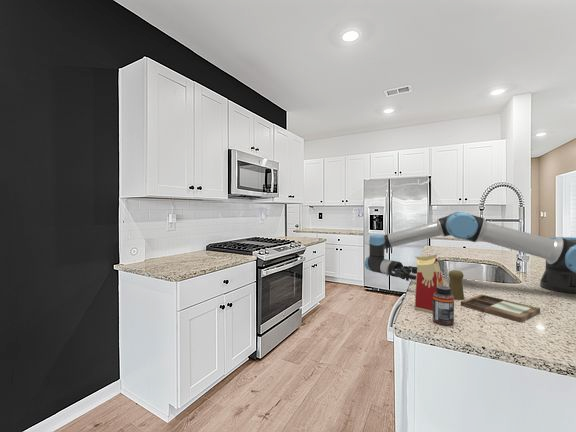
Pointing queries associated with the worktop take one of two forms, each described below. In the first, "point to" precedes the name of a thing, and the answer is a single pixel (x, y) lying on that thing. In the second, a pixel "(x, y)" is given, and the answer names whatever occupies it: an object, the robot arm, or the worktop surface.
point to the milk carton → (427, 282)
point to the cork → (456, 284)
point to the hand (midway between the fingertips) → (433, 277)
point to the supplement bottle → (443, 306)
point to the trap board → (501, 307)
